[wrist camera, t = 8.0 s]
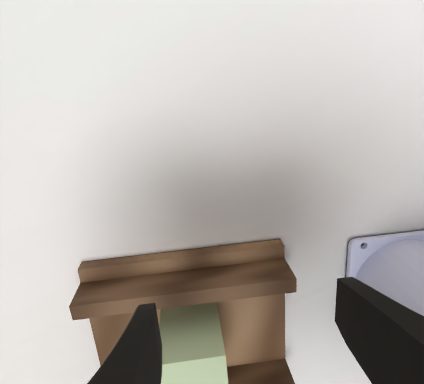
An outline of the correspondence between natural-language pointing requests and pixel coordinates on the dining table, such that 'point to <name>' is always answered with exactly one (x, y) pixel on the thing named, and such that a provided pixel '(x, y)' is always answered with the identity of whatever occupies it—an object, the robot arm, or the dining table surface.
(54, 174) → the dining table surface
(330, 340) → the dining table surface
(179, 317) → the sage block
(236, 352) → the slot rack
